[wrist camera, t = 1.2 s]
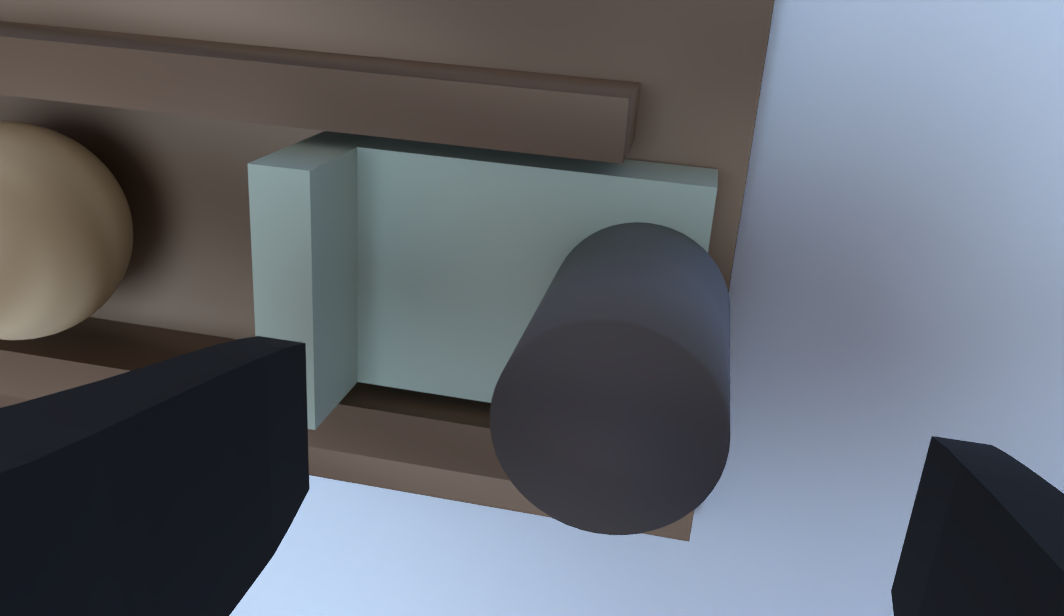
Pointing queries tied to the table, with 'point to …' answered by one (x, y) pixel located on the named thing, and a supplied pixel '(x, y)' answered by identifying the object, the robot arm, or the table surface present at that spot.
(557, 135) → the base
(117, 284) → the ball
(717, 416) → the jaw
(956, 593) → the robot arm
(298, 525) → the table surface
